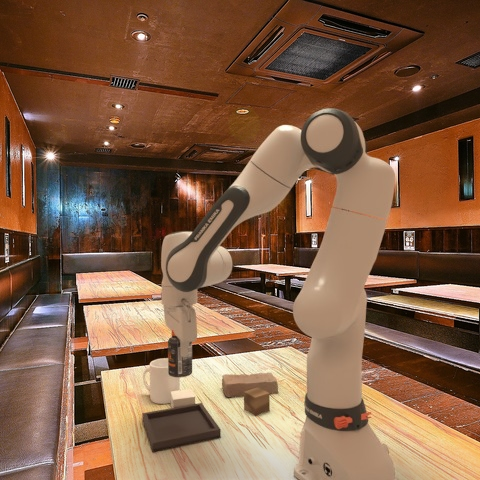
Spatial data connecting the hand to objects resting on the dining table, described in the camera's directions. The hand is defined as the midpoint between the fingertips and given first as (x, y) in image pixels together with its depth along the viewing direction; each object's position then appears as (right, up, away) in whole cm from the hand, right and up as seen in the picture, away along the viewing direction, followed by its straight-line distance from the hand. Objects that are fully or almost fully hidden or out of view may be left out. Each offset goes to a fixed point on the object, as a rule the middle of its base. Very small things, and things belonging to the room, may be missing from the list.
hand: (180, 351), depth 97 cm
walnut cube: (+20, -19, +10) cm, 29 cm away
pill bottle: (0, -6, 0) cm, 6 cm away
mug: (-9, -19, +19) cm, 28 cm away
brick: (+18, -19, +24) cm, 36 cm away
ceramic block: (-1, -19, +12) cm, 23 cm away
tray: (0, -19, 0) cm, 19 cm away
